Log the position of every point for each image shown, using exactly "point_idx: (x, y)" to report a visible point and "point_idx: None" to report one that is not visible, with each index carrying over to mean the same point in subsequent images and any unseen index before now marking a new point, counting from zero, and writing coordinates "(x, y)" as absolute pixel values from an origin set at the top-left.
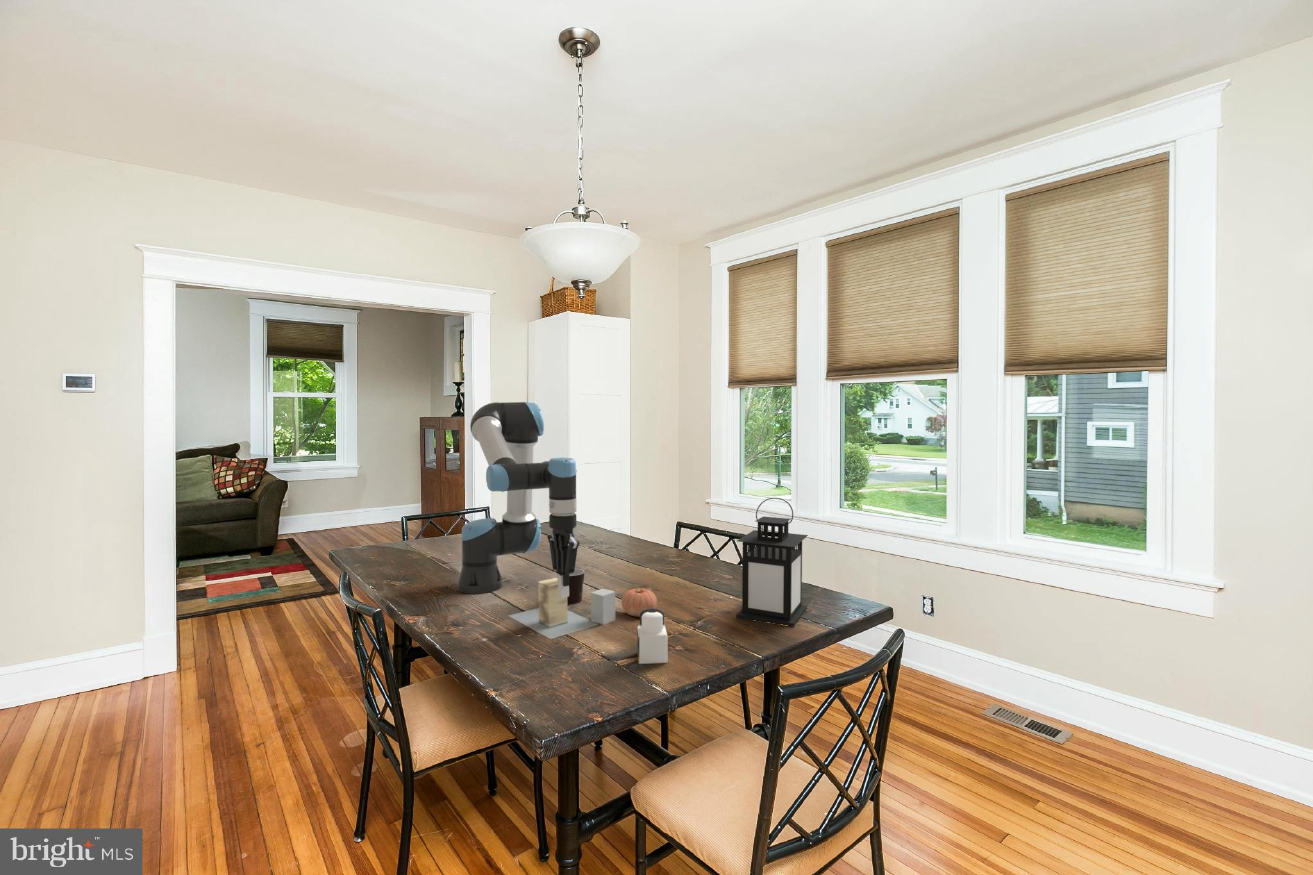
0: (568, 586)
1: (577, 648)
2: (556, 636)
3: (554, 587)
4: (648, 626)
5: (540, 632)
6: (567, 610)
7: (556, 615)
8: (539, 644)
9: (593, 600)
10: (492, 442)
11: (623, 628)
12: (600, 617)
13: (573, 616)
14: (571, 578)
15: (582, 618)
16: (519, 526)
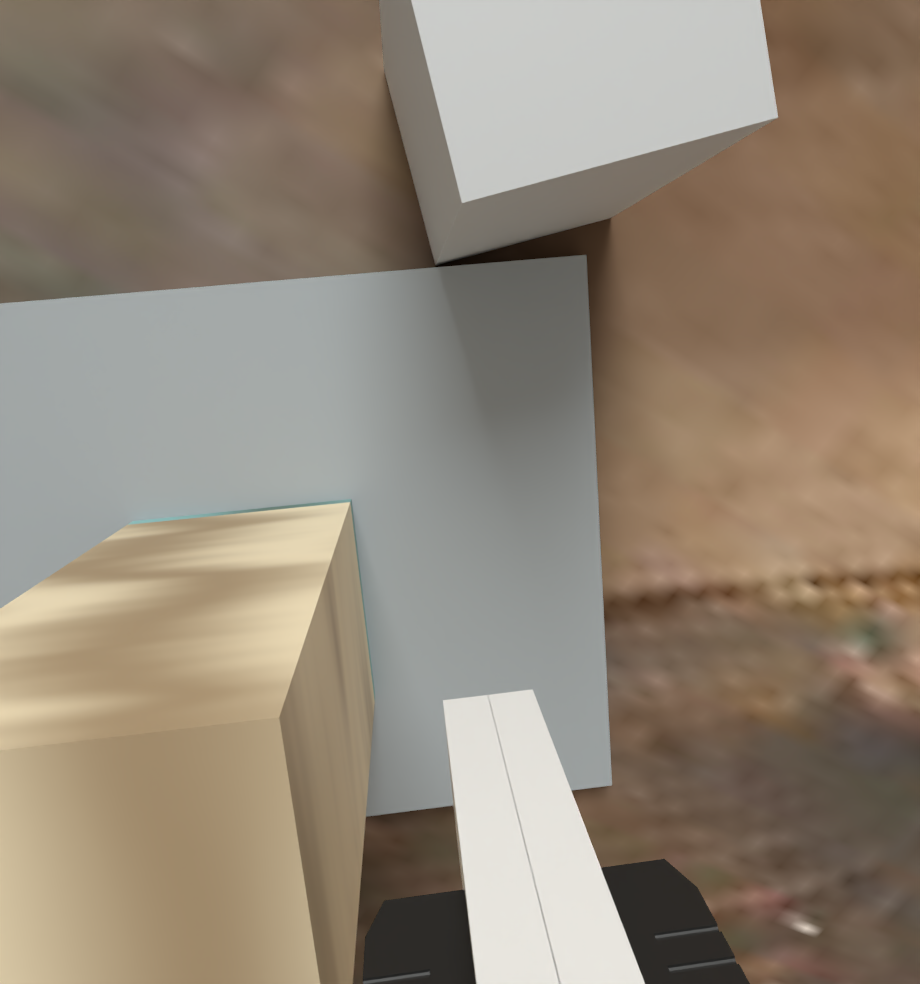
0: (574, 808)
1: (873, 663)
2: (596, 724)
3: (331, 969)
4: None
5: (427, 798)
6: (340, 534)
7: (361, 670)
8: (610, 862)
9: (509, 209)
10: None
11: (781, 66)
12: (593, 213)
13: (202, 356)
14: None
15: (318, 304)
16: None
